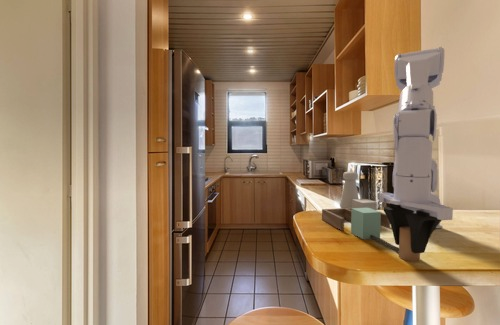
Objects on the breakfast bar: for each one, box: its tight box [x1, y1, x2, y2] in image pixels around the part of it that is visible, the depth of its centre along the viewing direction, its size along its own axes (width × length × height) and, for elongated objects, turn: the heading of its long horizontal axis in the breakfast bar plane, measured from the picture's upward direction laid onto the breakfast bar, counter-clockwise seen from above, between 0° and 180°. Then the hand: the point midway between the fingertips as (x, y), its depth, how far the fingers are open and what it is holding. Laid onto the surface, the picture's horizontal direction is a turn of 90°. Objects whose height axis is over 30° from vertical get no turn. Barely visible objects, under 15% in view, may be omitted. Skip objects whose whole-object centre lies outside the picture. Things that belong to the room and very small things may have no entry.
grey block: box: [352, 198, 378, 211], centre depth 73 cm, size 4×4×6 cm
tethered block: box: [350, 208, 421, 263], centre depth 56 cm, size 4×17×6 cm, turn 12°
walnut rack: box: [321, 207, 391, 231], centre depth 72 cm, size 14×10×3 cm
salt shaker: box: [339, 171, 360, 208], centre depth 82 cm, size 6×6×13 cm
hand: (409, 248), depth 49 cm, fingers closed on tethered block, 3 cm apart
